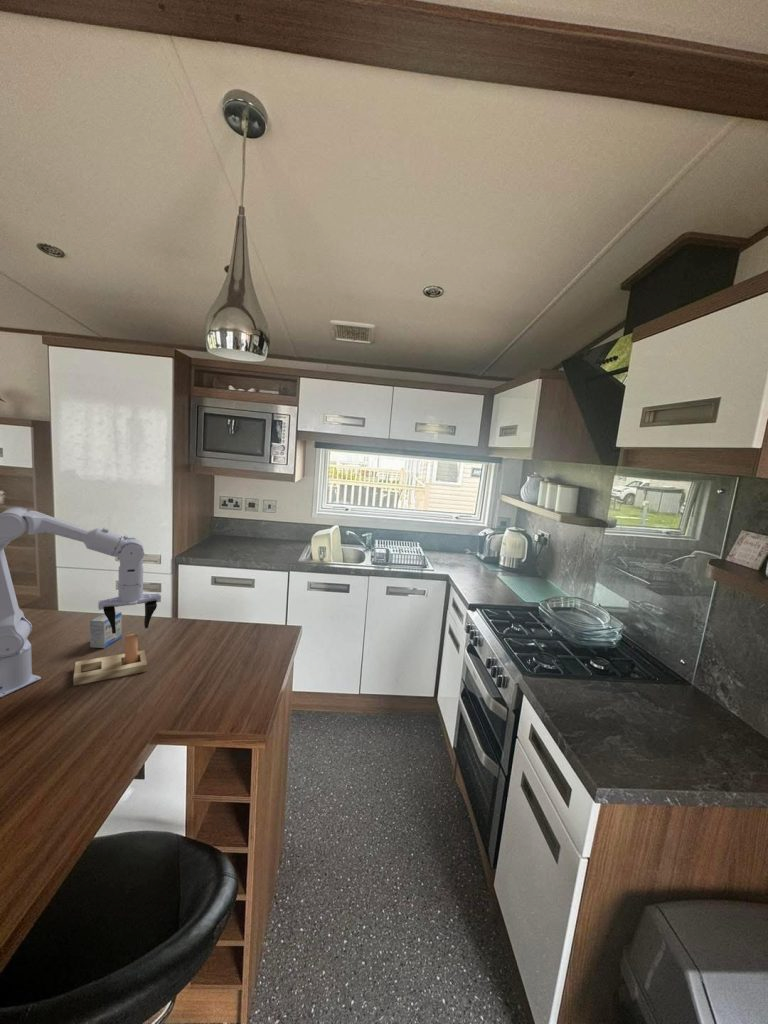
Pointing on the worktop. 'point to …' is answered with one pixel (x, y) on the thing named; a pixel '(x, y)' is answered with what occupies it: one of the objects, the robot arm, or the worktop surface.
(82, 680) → the hole block
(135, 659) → the peg
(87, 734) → the worktop surface
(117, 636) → the medicine box
